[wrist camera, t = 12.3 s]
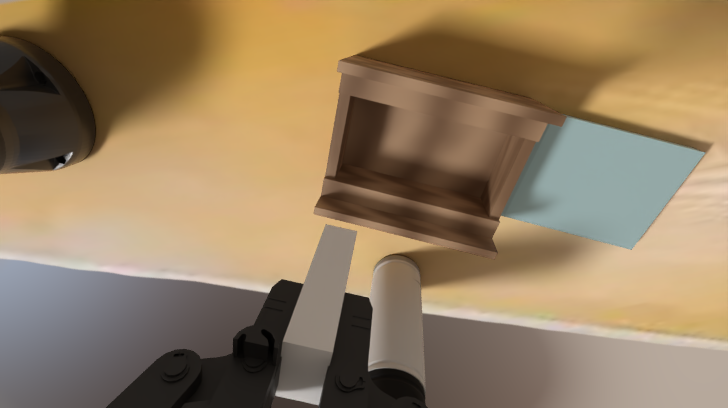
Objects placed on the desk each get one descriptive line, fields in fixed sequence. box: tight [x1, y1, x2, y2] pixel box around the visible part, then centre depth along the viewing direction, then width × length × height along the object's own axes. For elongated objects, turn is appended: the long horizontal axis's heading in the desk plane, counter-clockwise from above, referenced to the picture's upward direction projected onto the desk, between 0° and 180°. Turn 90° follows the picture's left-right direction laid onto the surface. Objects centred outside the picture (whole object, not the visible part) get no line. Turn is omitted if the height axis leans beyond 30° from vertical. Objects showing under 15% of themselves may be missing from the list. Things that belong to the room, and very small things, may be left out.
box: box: [314, 55, 567, 259], centre depth 32 cm, size 18×14×8 cm
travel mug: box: [368, 255, 426, 404], centre depth 36 cm, size 6×7×20 cm
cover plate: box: [501, 114, 705, 250], centre depth 35 cm, size 17×12×4 cm
